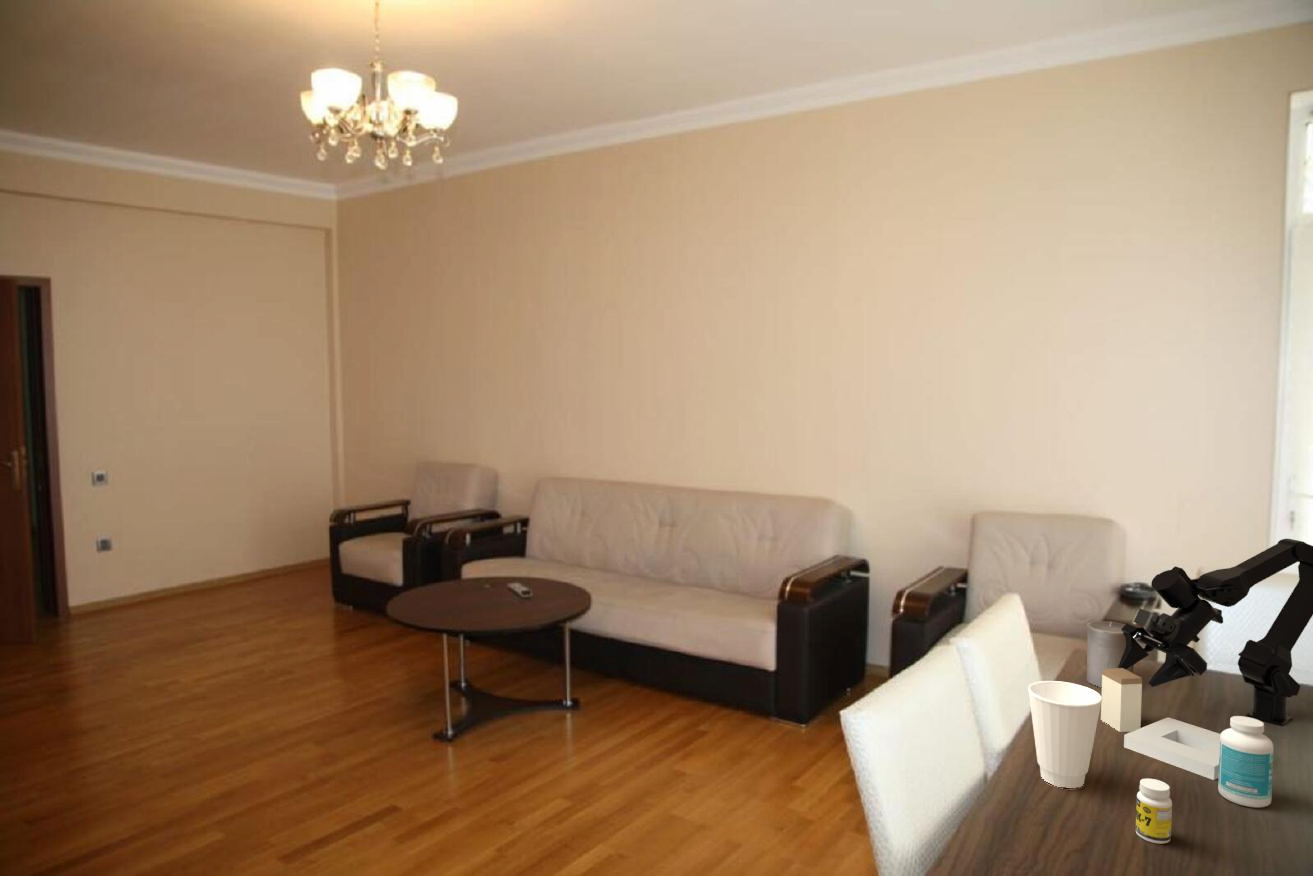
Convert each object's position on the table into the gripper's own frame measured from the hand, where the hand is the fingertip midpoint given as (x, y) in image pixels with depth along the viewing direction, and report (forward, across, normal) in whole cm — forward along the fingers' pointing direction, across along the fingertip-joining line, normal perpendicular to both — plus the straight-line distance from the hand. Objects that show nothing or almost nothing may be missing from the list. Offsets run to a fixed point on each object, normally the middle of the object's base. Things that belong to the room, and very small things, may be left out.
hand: (1134, 677), depth 172 cm
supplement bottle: (+26, +40, -11) cm, 49 cm away
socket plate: (+6, +14, +8) cm, 17 cm away
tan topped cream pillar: (+9, 0, +5) cm, 10 cm away
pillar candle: (0, -23, +15) cm, 27 cm away
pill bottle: (+9, +31, +6) cm, 33 cm away
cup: (+28, +21, -13) cm, 37 cm away
